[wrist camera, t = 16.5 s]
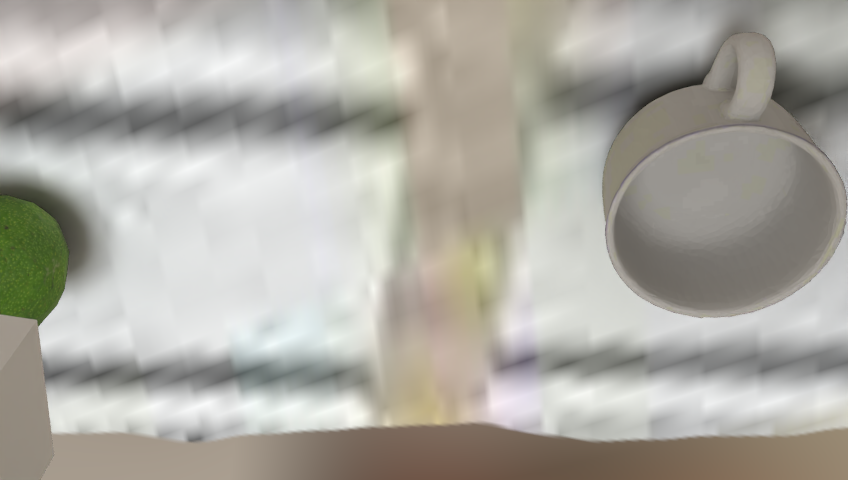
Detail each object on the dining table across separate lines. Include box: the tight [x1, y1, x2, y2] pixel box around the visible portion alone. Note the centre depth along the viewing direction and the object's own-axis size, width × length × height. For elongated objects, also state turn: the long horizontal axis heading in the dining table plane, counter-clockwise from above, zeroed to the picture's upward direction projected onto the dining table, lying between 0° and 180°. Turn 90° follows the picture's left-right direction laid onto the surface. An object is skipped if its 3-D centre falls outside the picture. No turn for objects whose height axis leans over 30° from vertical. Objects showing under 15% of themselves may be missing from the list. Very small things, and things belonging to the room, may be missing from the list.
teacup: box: [602, 32, 847, 318], centre depth 40 cm, size 14×11×8 cm
